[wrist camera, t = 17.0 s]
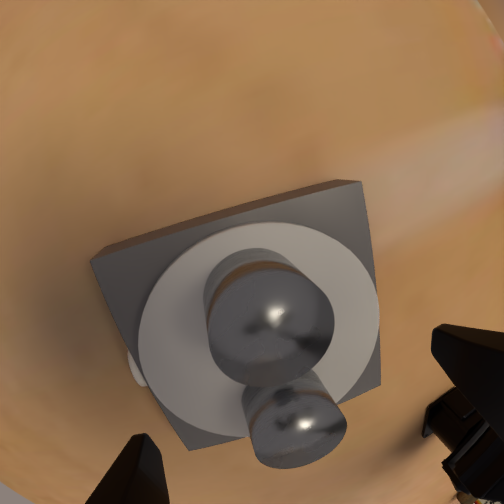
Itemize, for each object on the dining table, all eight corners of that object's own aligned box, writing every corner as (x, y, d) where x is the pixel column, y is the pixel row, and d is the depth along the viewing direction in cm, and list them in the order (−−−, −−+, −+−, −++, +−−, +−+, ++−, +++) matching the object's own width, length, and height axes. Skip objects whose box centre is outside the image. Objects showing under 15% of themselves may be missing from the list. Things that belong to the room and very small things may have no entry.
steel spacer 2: (324, 407, 18) (348, 447, 14) (252, 432, 18) (266, 477, 14) (314, 351, 17) (344, 393, 13) (231, 379, 16) (243, 429, 12)
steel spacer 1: (309, 322, 16) (340, 362, 12) (220, 352, 16) (230, 401, 12) (290, 235, 15) (324, 256, 11) (189, 265, 14) (189, 299, 10)
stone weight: (456, 496, 48) (467, 509, 41) (451, 495, 46) (463, 510, 39) (495, 458, 47) (508, 471, 41) (493, 455, 45) (507, 468, 38)
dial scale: (362, 364, 23) (387, 392, 19) (179, 425, 21) (180, 462, 17) (337, 179, 19) (370, 181, 15) (94, 250, 17) (72, 270, 13)
